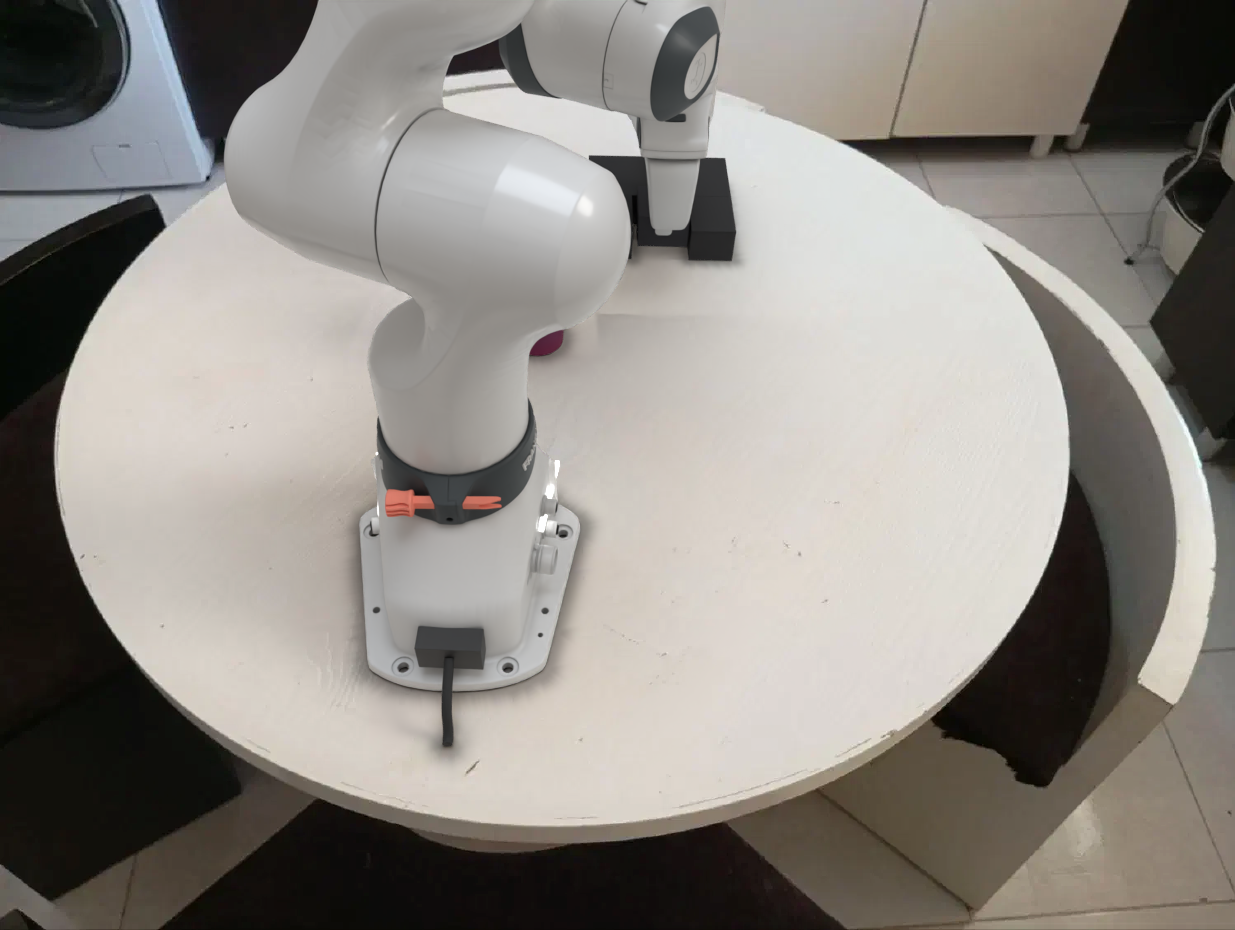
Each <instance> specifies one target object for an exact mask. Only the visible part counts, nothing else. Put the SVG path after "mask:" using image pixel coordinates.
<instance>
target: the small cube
mask: <svg viewBox="0 0 1235 930" xmlns="http://www.w3.org/2000/svg"><path fill="white" fill-rule="evenodd" d="M689 224H690V219H689V222H688V224H687V226H686V227H685V228H684V229H683V230H672V233H671V234H670V235H657V234H656V233H655V229H654V228H653V227H652V226H651V221H650V213H649V199H648V186H638V188H637V206H636V224H635V225H636V245H637V247H650V248H651V247H652V248H653V247H654V248H656V247H657V248H658V247H659V248H660V247H661V248H687V243H688V234H689Z"/></svg>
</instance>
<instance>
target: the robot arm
mask: <svg viewBox="0 0 1235 930" xmlns="http://www.w3.org/2000/svg"><path fill="white" fill-rule="evenodd" d="M726 4H727V0H317V5H316V8H315V11H314V15H313V17H312V20H311V22H310V25H309V28H308V29H307V32H306V34H305V37H304V39H303V41H302V42H301V44H300V46H299V48H298V50H297V52H296V53H295V55H294V56H293V57H292V59H291V60H290V62H289V63H288V64H287V65H286V66H285V68H284V69H283V70H282V71H281V72H280V73H279V74H278V75H276V76H275V77H274V78H273V79H271V80H269V81H268V82H266V83H265V84H263V85H261V86H259V87H258V88H257V89H256V90H255V91H254V92H253V93H252V94H251V95H249V96H248V98H246V100H245V101H244V102H243V103H242V105H241V106H240V108H239V109H238V111H237V112H236V114H235V116H234V117H233V120H232V122H231V124H230V126H229V130H228V132H227V136H226V140H225V145H224V152H223V168H224V169H223V170H224V178H225V185H226V188H227V191H228V194H229V198H230V201H231V203H232V205H233V208H234V209H235V211H236V212H237V214H238V215H239V217H240V218H241V219H242V220H243V221H244V222H245V223H246V224H247V225H248V226H250V227H251V228H253V229H255V230H256V231H258V232H259V233H261V234H263V235H264V236H266V237H268V238H269V239H271V240H273V241H274V242H275V243H277V244H279V245H281V246H282V247H285V248H287V249H288V250H290V251H292V253H295V254H297V255H299V256H301V257H302V258H304V259H306V260H308V261H310V262H313V263H317V264H321V265H323V266H327V267H329V268H333V269H336V270H339V271H342V272H345V273H348V274H351V275H353V276H354V275H355V276H358V277H360V278H363V279H367V280H370V281H372V282H373V281H374V282H377V283H380V284H383V285H386V286H389V287H392V288H394V289H396V290H398V291H399V292H402V293H405V294H406V295H408V296H409V297H410V298H408V299H406V300H405V301H402V302H401V303H399V304H398V305H397V306H395V307H393V308H392V309H391V310H390V311H388V313H387V314H386V315H385V316H384V317H382V319H381V320H380V322H379V324H378V325H377V326H376V328H375V330H374V332H373V334H372V337H371V340H370V343H369V346H368V350H367V355H366V357H367V358H366V366H367V371H368V375H369V380H370V384H371V389H372V393H373V399H374V402H375V403H374V404H375V406H376V411H377V418H376V449H377V452H375V457H373V458H371V460H370V464H371V467H372V471H373V475H374V478H375V483H376V497H377V498H376V499H377V505H375V506H374V507H372V508H370V509H369V510H367V511H366V512H364V513H363V514H361V517H360V519H359V521H358V523H359V524H358V525H359V542H360V560H361V573H362V574H361V576H362V578H361V579H362V595H363V596H362V597H363V609H364V611H363V613H364V628H365V644H366V645H365V646H366V659H367V665H368V668H369V670H370V671H371V672H373V673H374V674H375V675H376V676H379V677H380V678H383V679H385V680H387V681H389V682H391V683H394V684H397V685H400V686H403V687H407V688H413V689H418V690H424V691H425V690H426V691H434V692H435V691H437V692H438V691H439V692H441V705H440V706H441V708H440V709H441V710H440V711H441V721H442V722H441V723H442V742H441V743H442V744H441V745H442V746H443V747H452V746H453V744H454V721H453V692H473V691H474V692H475V691H484V690H492V689H497V688H503V687H507V686H511V685H515V684H517V683H520V682H523V681H525V680H528V679H529V678H531V677H533V676H535V675H537V674H538V673H540V672H542V671H544V669H545V667H546V665H547V663H548V659H549V656H550V651H551V647H552V645H553V640H554V636H555V631H556V628H557V623H558V621H559V616H560V612H561V608H562V604H563V601H564V596H565V593H566V590H567V589H566V588H567V585H568V581H569V576H570V573H571V568H572V564H573V561H574V557H575V553H576V549H577V544H578V541H579V537H580V534H581V533H580V532H581V524H580V519H579V517H578V515H576V514H575V512H573V511H572V510H570V509H568V508H567V507H565V506H564V505H562V504H559V497H558V495H559V494H558V482H557V477H558V473H559V470H560V460H554V459H552V457H551V456H550V455H549V454H548V453H546V452H545V451H544V450H543V449H542V448H541V447H540V446H539V445H538V444H537V439H538V430H537V420H536V417H535V414H534V408H533V404H532V401H531V400H530V398H529V390H528V389H529V387H528V382H529V381H528V379H529V359H530V355H529V353H530V350H531V348H532V347H533V345H534V344H535V343H536V342H537V341H538V340H539V339H540V338H542V337H544V336H546V335H547V334H550V333H552V332H555V331H559V330H563V329H564V330H568V329H571V328H574V327H576V326H578V325H579V324H581V323H583V322H584V321H586V320H587V319H589V318H590V317H591V316H593V315H594V314H595V313H596V312H597V311H598V310H600V309H601V308H603V305H604V304H606V302H607V301H608V300H609V298H610V297H611V296H612V295H613V293H614V292H615V290H616V288H617V286H618V285H619V284H620V282H621V280H622V277H623V275H624V272H625V270H626V267H627V264H628V260H629V259H628V256H629V251H630V244H631V224H630V216H629V211H628V207H627V203H626V199H625V197H624V194H623V192H622V189H621V187H620V185H619V183H618V181H617V180H616V178H615V176H614V175H613V174H612V173H611V172H610V171H608V170H607V169H605V168H603V167H601V166H599V165H598V164H596V163H594V162H592V161H590V160H589V158H587V157H584V155H581V154H579V153H578V152H575V151H573V150H572V149H569V148H567V147H565V146H563V145H561V144H559V143H557V142H555V141H553V140H551V139H550V138H547V137H545V136H542V135H539V134H535V133H532V132H528V131H524V130H520V129H517V128H513V127H509V126H506V125H502V124H498V123H494V122H491V121H487V120H484V119H479V118H477V117H472V116H468V115H465V114H462V113H457V112H454V111H451V110H450V109H448V108H445V107H444V100H443V94H444V83H445V80H446V76H447V72H448V69H449V66H450V63H451V61H452V60H453V57H454V56H457V55H461V54H463V53H466V52H469V51H472V50H475V49H477V48H481V47H483V46H485V45H487V44H490V43H492V42H495V41H497V40H498V50H499V55H500V58H501V61H502V64H503V66H504V68H505V70H506V72H507V73H508V75H509V76H510V78H511V79H512V81H513V83H515V85H516V86H517V88H518V89H519V90H520V91H522V92H523V93H525V94H528V95H533V96H541V97H546V98H552V99H558V100H559V99H561V100H562V99H563V100H567V101H570V102H574V103H579V104H583V105H586V106H589V107H593V108H598V109H602V110H605V111H608V112H617V113H620V114H623V115H627V117H628V118H629V120H630V121H631V124H632V127H633V129H634V131H635V134H636V138H637V142H638V143H637V144H638V149H639V152H640V156H642V157H644V158H645V164H646V172H647V184H648V199H649V213H650V221H651V226H652V227H653V228H654V229H655V233H656V234H657V235H670V234H671V233H672V230H683V229H684V228H685V227H686V226H687V224H688V222H689V219H690V215H691V210H692V205H693V200H694V195H695V190H696V185H697V179H698V173H699V165H700V159H704V158H707V156H708V151H709V143H710V142H709V141H710V126H711V123H712V119H713V118H714V113H715V111H714V110H715V103H716V95H717V87H718V77H719V69H720V68H719V59H718V56H719V47H720V39H721V37H722V35H723V31H724V25H725V16H726V6H727V5H726ZM372 535H375V536H372ZM563 535H564V536H565V537H560V536H563ZM402 668H407V670H406V671H404V672H402V671H400V670H401V669H402ZM507 668H511V669H512V670H511V671H509V672H505V671H504V670H505V669H507Z"/></svg>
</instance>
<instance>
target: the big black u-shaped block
mask: <svg viewBox="0 0 1235 930" xmlns="http://www.w3.org/2000/svg"><path fill="white" fill-rule="evenodd" d="M588 160H590V161H592V162H594V163H596V164H598V165H599V166H601V167H603V168H605V169H607V170H608V171H610V172H611V173H612V174H613V175H614V176H615V178H616V180H617V181H618V183H619V185H620V187H621V189H622V192H623V194H624V197H625V199H626V203H627V207H628V211H629V216H630V224H631V244H630V251H629V256H628V260H632V259H633V246H634V245H633V243H634V225H636V206H637V188H638V186H648V184H647V172H646V164H645V158H644V157H642V156H641V155H602V154H601V155H600V154H599V155H597V154H596V155H595V154H594V155H593V154H589V155H588ZM736 227H737V226H736V221H735V215H734V207H733V201H732V195H731V188H730V181H729V174H728V166H727V161H726V157H706V158H704V159H700V165H699V173H698V179H697V185H696V190H695V195H694V200H693V205H692V210H691V215H690V224H689V234H688V243H687V247H686V249H687V258H688V259H687V260H688V261H709V262H711V261H714V262H715V261H716V262H717V261H718V262H732V261H733V257H734V256H733V255H734V250H735V242H736V235H737V228H736Z"/></svg>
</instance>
